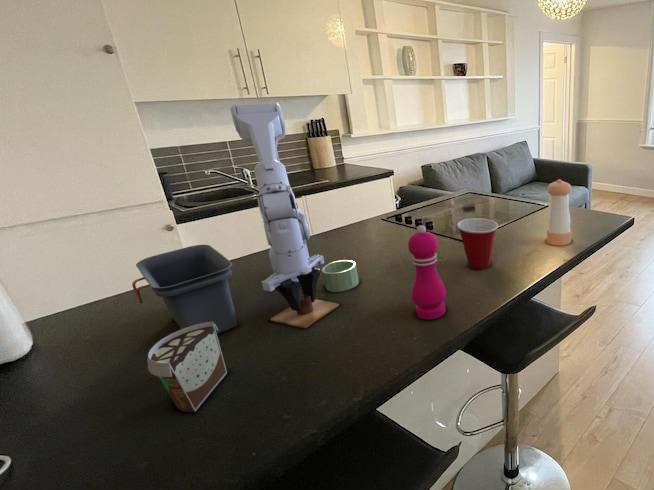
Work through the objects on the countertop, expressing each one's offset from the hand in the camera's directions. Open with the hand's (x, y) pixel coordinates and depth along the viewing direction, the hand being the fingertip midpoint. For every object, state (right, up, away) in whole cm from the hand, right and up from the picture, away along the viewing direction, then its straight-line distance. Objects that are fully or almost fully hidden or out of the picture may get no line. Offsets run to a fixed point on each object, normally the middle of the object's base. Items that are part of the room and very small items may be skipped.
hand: (303, 305), depth 90 cm
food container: (-8, -12, -22) cm, 26 cm away
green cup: (+3, +3, +13) cm, 14 cm away
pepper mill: (+29, -2, -1) cm, 29 cm away
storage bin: (-22, -4, -2) cm, 22 cm away
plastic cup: (+38, +8, +21) cm, 44 cm away
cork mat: (0, -2, +1) cm, 2 cm away
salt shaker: (+62, +14, +35) cm, 72 cm away
